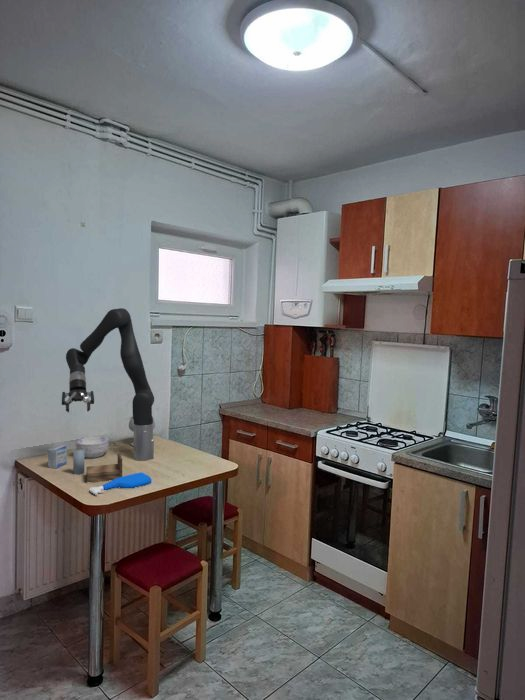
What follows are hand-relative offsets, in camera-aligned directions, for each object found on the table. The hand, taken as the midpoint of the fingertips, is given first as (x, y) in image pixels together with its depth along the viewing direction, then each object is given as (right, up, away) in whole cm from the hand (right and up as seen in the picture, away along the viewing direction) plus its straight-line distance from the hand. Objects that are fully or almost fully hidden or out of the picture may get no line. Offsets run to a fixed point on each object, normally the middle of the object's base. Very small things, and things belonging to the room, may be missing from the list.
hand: (78, 410), depth 220 cm
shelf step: (+17, -27, -14) cm, 35 cm away
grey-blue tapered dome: (+4, -26, -9) cm, 28 cm away
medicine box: (-10, -26, +1) cm, 27 cm away
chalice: (+19, -24, +41) cm, 51 cm away
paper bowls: (0, -25, +18) cm, 30 cm away
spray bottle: (+27, -29, -25) cm, 46 cm away
